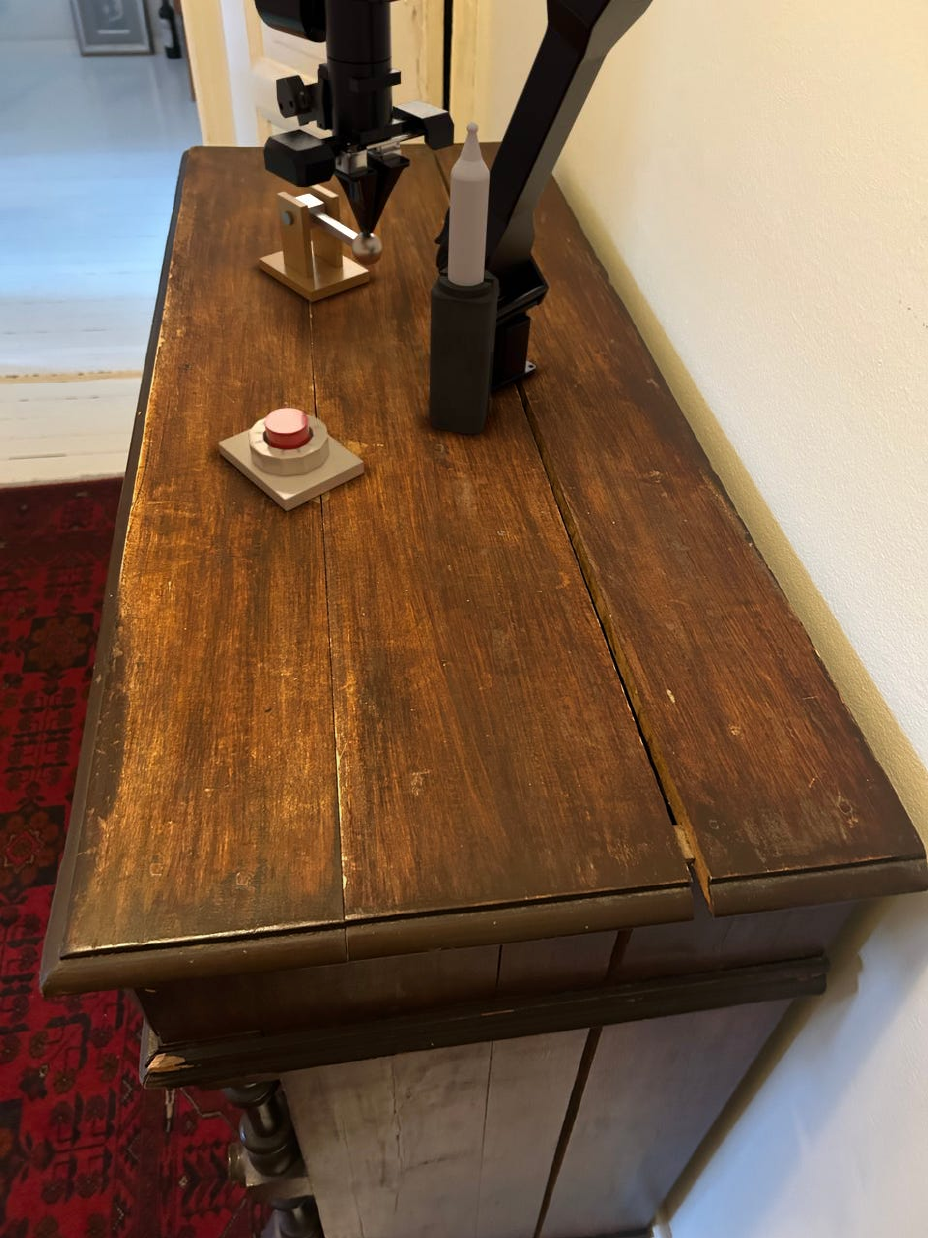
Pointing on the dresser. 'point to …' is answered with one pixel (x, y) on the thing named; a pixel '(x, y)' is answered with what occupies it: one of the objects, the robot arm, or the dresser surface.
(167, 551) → the dresser surface
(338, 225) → the tap lever
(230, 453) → the button block
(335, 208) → the tap bracket
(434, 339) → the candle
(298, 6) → the robot arm
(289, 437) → the button
